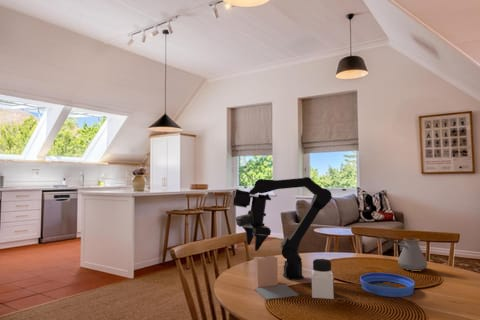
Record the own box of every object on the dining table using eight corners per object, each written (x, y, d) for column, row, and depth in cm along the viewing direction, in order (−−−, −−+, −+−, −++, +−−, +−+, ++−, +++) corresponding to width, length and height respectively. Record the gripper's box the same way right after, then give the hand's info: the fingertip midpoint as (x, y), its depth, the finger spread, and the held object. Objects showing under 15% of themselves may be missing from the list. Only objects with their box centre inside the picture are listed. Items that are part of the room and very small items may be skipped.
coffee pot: (414, 264, 155) (413, 231, 156) (434, 271, 144) (433, 235, 145) (372, 268, 150) (371, 233, 151) (390, 276, 139) (389, 238, 140)
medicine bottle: (334, 299, 114) (333, 262, 114) (312, 298, 115) (311, 261, 116) (332, 292, 121) (332, 257, 121) (311, 291, 122) (311, 256, 123)
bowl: (411, 284, 130) (410, 274, 130) (418, 301, 112) (418, 290, 113) (360, 279, 135) (359, 270, 136) (360, 295, 118) (360, 284, 118)
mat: (285, 285, 128) (285, 284, 128) (298, 295, 118) (298, 294, 118) (254, 289, 124) (254, 288, 124) (266, 300, 114) (266, 298, 114)
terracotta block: (273, 281, 133) (273, 255, 134) (277, 285, 129) (277, 258, 130) (254, 284, 131) (253, 257, 131) (257, 287, 127) (257, 260, 127)
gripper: (232, 204, 147) (226, 240, 147) (246, 211, 130) (240, 252, 129) (256, 207, 151) (251, 242, 150) (273, 214, 133) (267, 254, 132)
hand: (252, 247), depth 140 cm, fingers open, 9 cm apart
